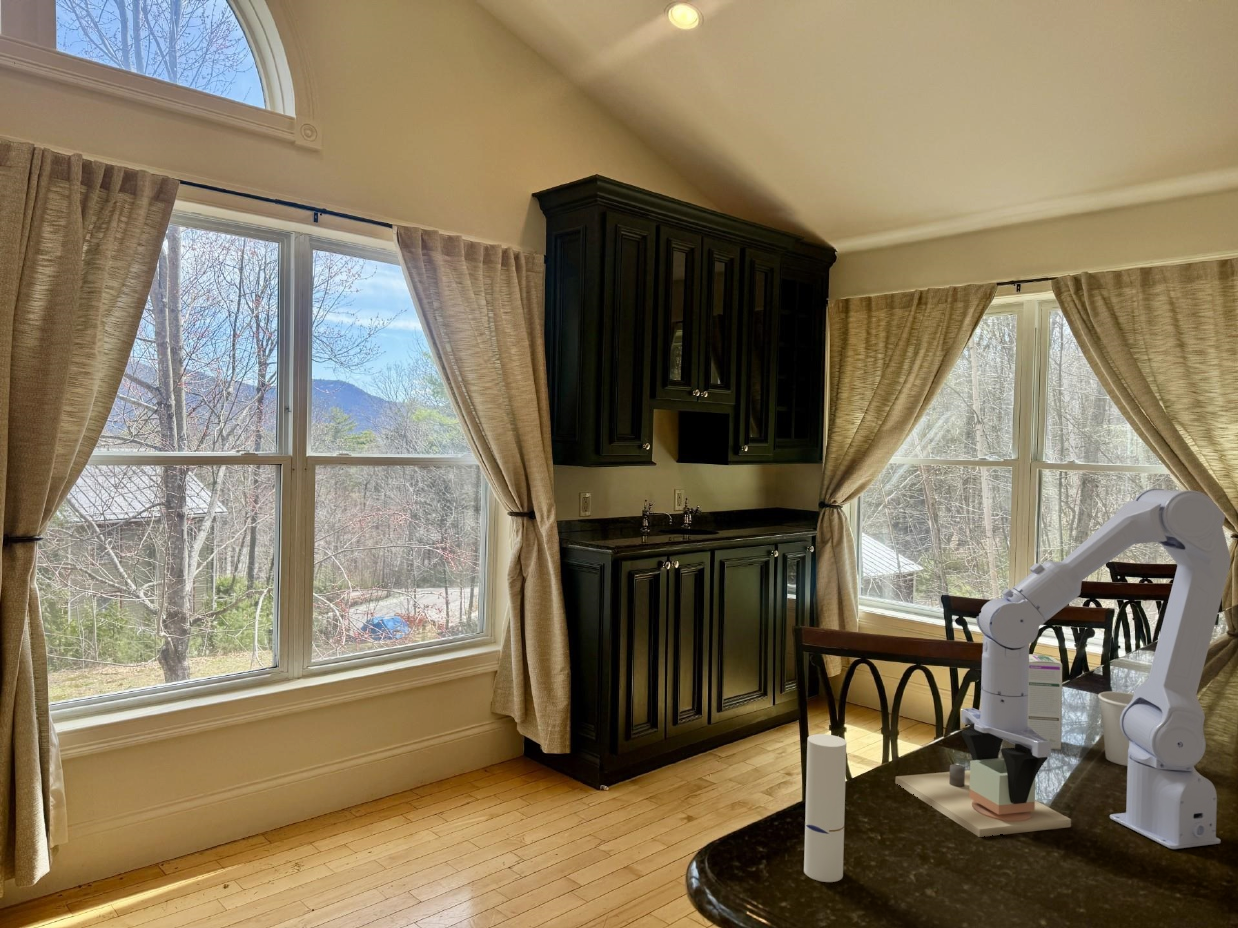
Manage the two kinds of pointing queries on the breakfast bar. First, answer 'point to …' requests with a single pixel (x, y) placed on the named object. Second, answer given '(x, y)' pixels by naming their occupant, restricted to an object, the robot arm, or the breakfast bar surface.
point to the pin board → (976, 805)
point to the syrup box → (1045, 698)
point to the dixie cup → (1114, 725)
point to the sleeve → (995, 787)
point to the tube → (825, 807)
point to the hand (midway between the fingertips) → (1001, 793)
